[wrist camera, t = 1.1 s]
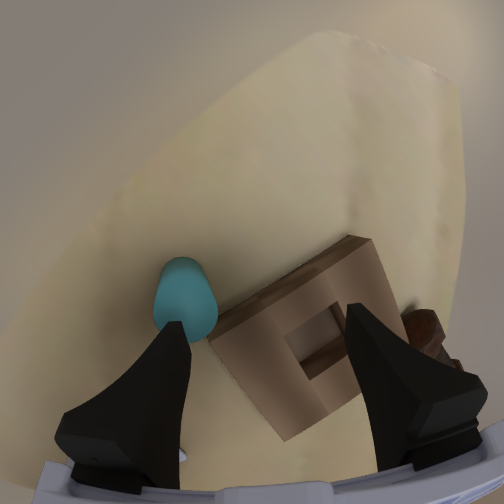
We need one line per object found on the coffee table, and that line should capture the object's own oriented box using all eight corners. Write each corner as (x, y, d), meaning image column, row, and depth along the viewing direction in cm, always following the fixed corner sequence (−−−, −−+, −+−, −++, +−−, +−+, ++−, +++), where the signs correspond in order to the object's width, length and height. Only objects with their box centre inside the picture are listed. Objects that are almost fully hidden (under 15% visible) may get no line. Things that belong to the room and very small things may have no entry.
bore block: (273, 420, 28) (284, 442, 24) (204, 324, 25) (208, 342, 21) (391, 339, 29) (412, 352, 26) (349, 234, 27) (371, 239, 23)
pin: (175, 308, 24) (176, 353, 16) (151, 271, 23) (140, 302, 16) (213, 286, 25) (230, 322, 17) (190, 248, 24) (196, 268, 16)
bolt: (434, 385, 34) (385, 323, 30) (467, 366, 32) (427, 297, 28) (443, 421, 29) (395, 367, 25) (480, 402, 27) (445, 340, 23)
